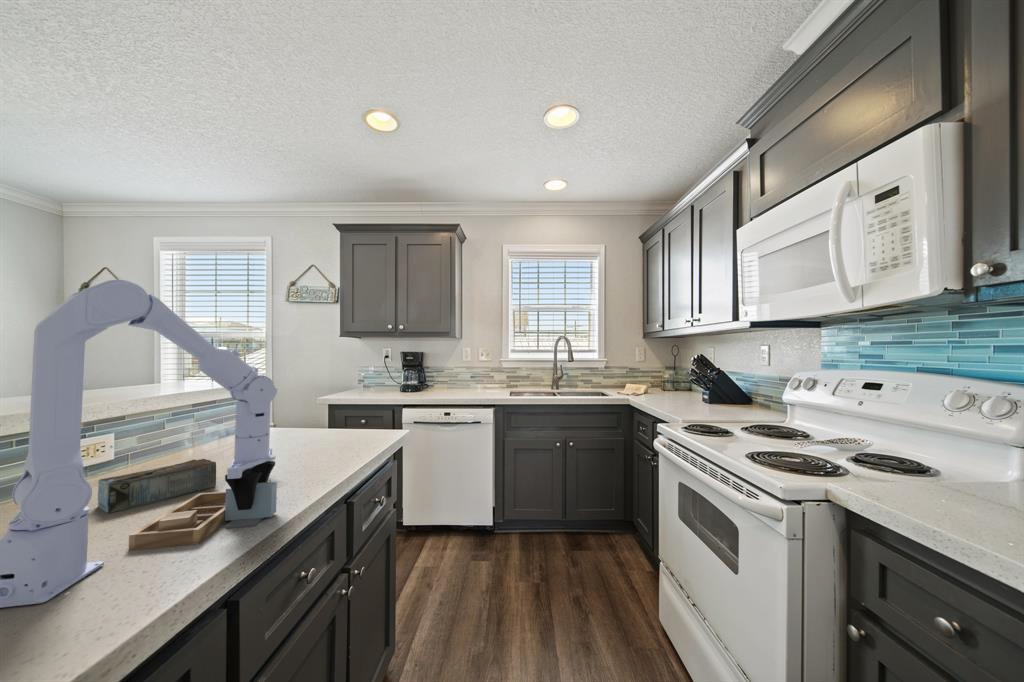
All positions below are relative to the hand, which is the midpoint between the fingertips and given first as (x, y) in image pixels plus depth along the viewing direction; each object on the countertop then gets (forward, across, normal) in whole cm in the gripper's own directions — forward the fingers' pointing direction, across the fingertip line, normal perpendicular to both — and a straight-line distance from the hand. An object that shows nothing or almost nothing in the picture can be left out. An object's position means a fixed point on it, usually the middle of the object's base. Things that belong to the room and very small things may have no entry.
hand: (250, 504), depth 75 cm
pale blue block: (+2, 0, 0) cm, 2 cm away
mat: (+3, 0, 0) cm, 3 cm away
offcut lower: (+3, -6, +9) cm, 11 cm away
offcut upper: (+1, -6, +9) cm, 11 cm away
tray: (+3, 0, +9) cm, 9 cm away
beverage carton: (+3, +18, +26) cm, 31 cm away
